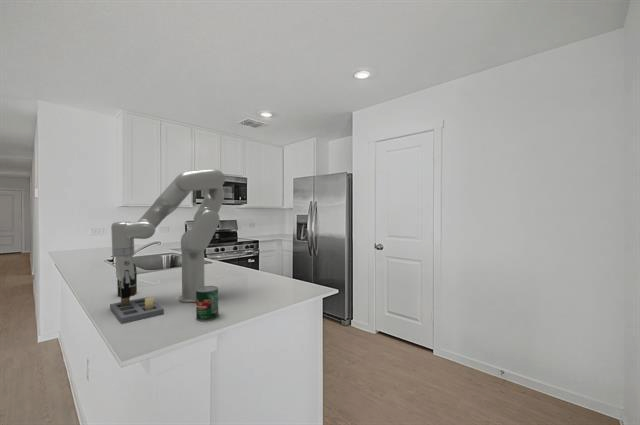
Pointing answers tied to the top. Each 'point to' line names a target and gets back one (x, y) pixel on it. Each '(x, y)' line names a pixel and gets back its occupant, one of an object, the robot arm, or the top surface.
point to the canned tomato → (207, 303)
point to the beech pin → (124, 299)
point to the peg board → (136, 310)
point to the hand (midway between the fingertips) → (125, 296)
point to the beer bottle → (131, 283)
